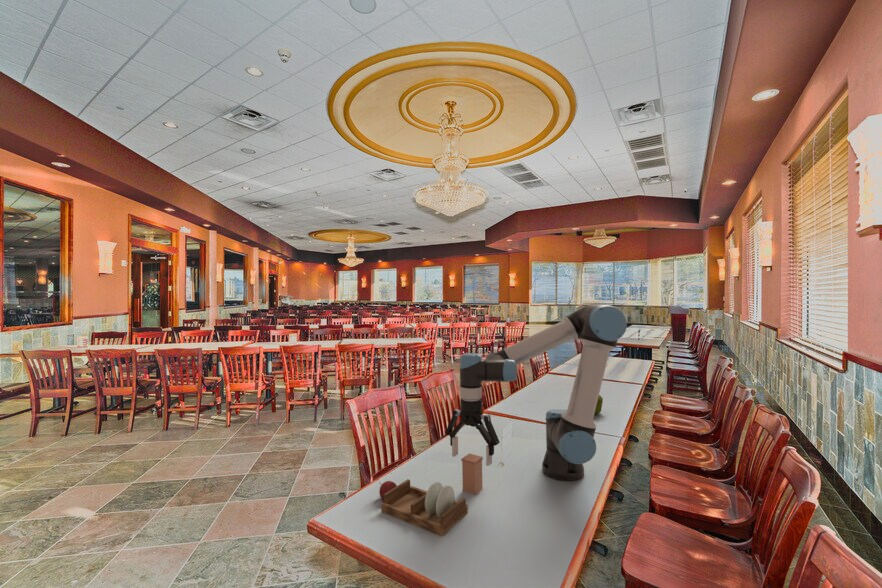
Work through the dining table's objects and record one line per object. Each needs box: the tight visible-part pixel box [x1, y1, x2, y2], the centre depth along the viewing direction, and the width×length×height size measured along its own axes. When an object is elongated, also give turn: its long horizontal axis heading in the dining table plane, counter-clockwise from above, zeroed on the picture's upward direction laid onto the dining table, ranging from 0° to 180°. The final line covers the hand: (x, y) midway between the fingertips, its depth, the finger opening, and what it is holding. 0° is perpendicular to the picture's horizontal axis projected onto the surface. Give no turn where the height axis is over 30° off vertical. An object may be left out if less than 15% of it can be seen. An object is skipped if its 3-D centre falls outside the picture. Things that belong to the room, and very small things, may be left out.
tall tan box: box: [460, 453, 484, 495], centre depth 134 cm, size 5×5×11 cm
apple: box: [594, 394, 604, 416], centre depth 218 cm, size 12×12×11 cm
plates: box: [425, 481, 455, 518], centre depth 117 cm, size 5×9×9 cm, turn 145°
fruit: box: [376, 478, 398, 501], centre depth 130 cm, size 6×6×8 cm
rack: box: [381, 478, 469, 537], centre depth 120 cm, size 23×14×5 cm, turn 55°
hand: (471, 459), depth 134 cm, fingers open, 13 cm apart
